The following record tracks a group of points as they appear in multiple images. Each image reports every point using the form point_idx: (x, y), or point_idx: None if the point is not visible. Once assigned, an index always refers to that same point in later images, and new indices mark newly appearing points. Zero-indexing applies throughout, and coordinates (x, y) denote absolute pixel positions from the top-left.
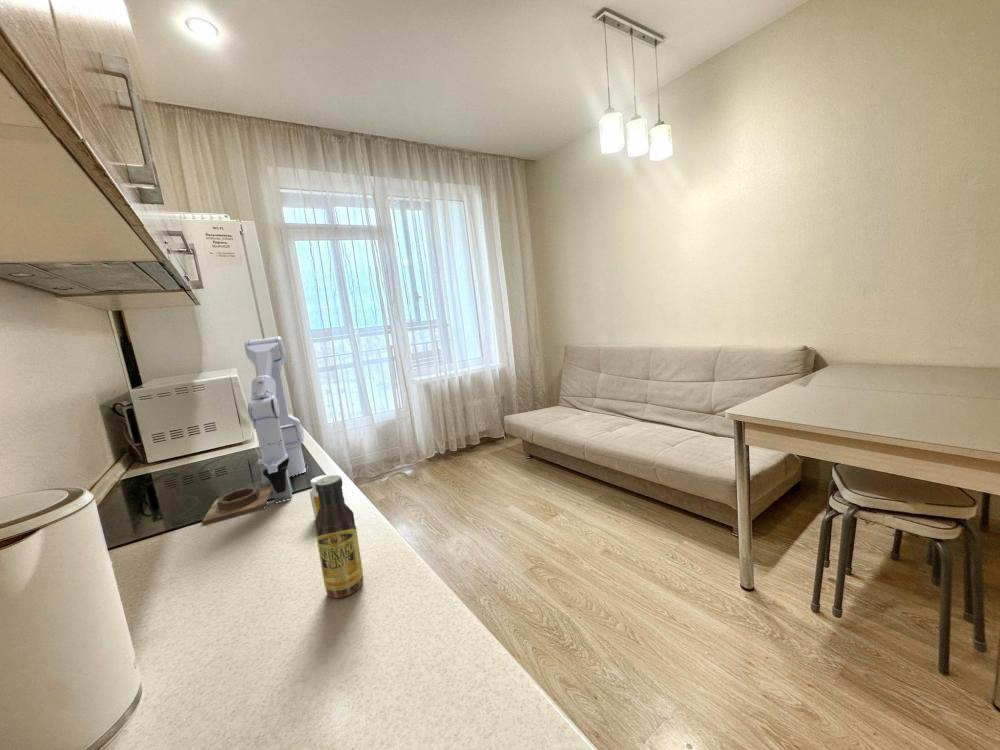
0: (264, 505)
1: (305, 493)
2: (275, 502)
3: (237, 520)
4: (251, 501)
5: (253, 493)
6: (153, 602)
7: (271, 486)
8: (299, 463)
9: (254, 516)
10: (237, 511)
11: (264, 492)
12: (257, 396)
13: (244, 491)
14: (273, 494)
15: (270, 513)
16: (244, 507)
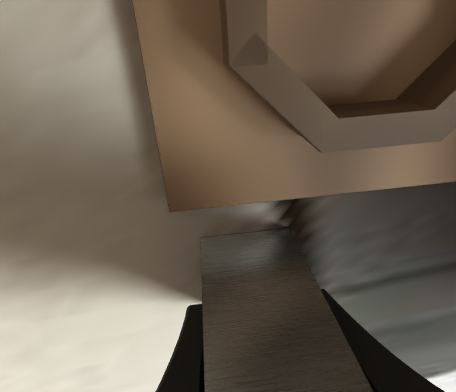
0: (169, 202)
1: None
2: (201, 245)
3: (44, 46)
4: (269, 105)
5: (320, 133)
6: None
7: (203, 332)
8: None
9: (65, 158)
10: (140, 23)
11: (408, 154)
12: None
13: None
14: (202, 280)
15: (69, 242)
16: (197, 67)
